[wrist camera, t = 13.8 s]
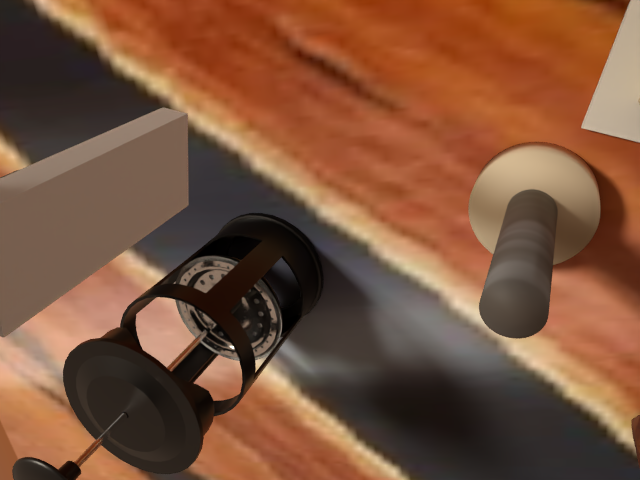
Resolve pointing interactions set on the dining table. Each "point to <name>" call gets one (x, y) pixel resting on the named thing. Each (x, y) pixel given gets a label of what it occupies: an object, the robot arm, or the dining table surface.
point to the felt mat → (619, 84)
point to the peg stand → (530, 229)
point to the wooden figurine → (636, 435)
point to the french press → (185, 351)
